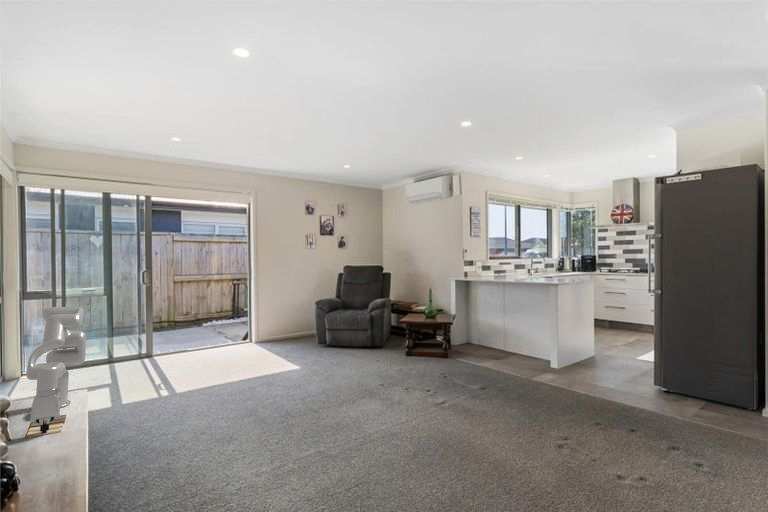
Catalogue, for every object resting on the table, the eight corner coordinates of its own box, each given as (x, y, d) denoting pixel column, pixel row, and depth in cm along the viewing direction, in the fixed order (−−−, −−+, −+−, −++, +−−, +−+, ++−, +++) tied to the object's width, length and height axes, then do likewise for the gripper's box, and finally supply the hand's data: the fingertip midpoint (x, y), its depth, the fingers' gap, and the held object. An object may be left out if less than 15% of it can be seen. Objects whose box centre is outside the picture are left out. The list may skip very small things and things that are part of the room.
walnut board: (33, 422, 196) (33, 418, 196) (66, 417, 203) (66, 413, 204) (29, 430, 187) (29, 426, 187) (64, 425, 194) (64, 421, 194)
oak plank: (30, 431, 186) (30, 427, 186) (63, 425, 193) (63, 422, 193) (26, 439, 177) (26, 435, 177) (61, 433, 184) (61, 430, 184)
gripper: (67, 388, 190) (65, 426, 189) (26, 393, 181) (24, 433, 180) (66, 392, 184) (64, 431, 183) (24, 397, 175) (21, 438, 174)
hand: (44, 432), depth 181 cm, fingers closed
